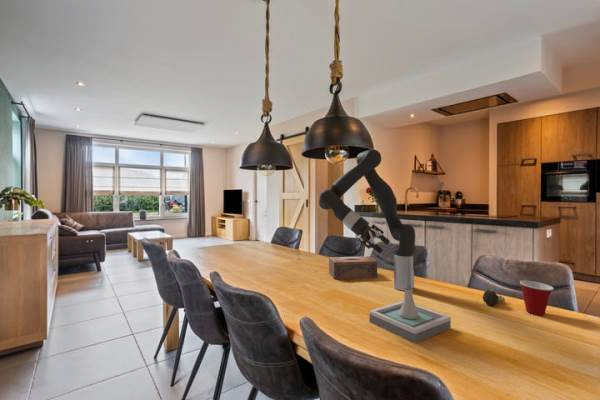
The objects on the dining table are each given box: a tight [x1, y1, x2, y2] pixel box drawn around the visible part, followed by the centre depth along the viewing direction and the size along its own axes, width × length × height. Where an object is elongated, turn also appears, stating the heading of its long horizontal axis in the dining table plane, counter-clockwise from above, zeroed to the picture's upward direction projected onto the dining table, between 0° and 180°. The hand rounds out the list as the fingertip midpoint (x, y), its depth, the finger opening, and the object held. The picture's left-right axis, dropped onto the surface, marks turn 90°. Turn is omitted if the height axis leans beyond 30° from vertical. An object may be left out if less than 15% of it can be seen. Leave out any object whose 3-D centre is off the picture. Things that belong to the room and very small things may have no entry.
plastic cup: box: [519, 280, 554, 317], centre depth 120 cm, size 11×11×12 cm
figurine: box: [482, 289, 506, 307], centre depth 133 cm, size 8×6×15 cm
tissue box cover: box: [328, 255, 378, 280], centre depth 181 cm, size 26×14×10 cm, turn 96°
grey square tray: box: [369, 300, 452, 344], centre depth 110 cm, size 20×20×4 cm
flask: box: [398, 288, 419, 319], centre depth 110 cm, size 7×7×10 cm
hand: (385, 247), depth 126 cm, fingers open, 8 cm apart
